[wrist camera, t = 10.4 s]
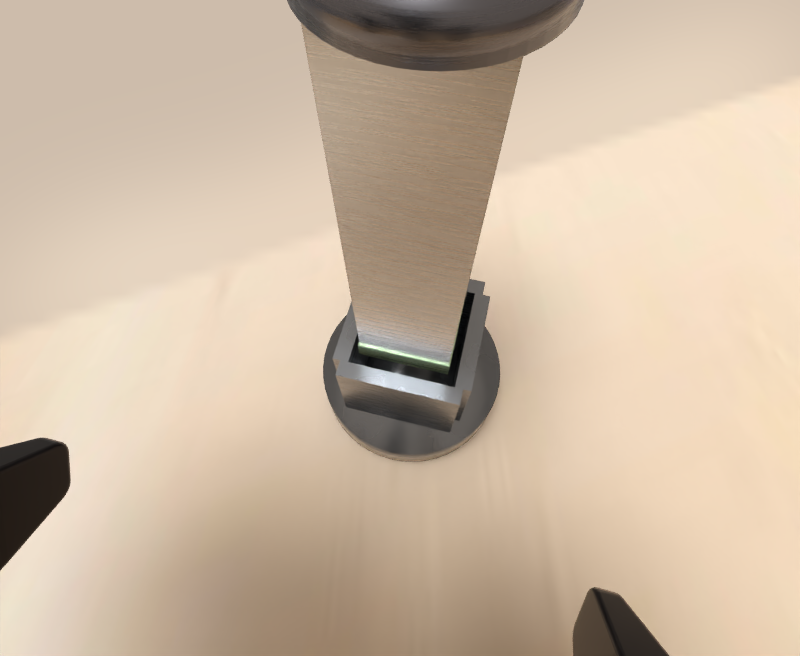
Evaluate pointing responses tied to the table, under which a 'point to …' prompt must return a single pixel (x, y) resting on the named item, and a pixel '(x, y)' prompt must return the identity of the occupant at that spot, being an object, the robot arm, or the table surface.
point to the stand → (414, 389)
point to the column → (416, 149)
